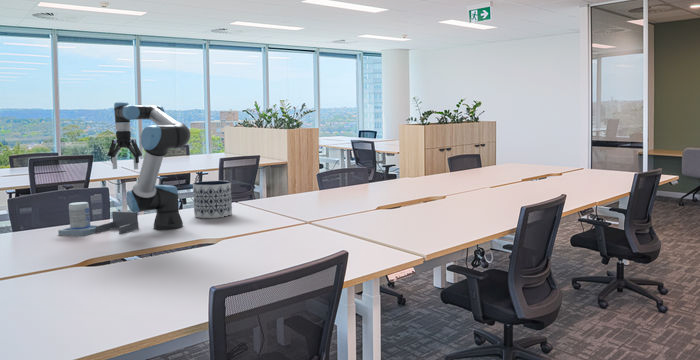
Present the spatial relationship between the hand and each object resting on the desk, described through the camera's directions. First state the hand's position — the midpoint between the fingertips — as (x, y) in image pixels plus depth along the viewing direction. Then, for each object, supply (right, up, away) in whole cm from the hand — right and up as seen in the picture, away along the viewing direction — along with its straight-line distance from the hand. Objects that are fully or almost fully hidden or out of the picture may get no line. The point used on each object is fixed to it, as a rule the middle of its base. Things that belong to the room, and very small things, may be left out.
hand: (125, 169), depth 295 cm
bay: (0, -33, -11) cm, 35 cm away
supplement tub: (-18, -33, -14) cm, 40 cm away
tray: (-17, -34, -14) cm, 40 cm away
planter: (+41, -28, +31) cm, 58 cm away
